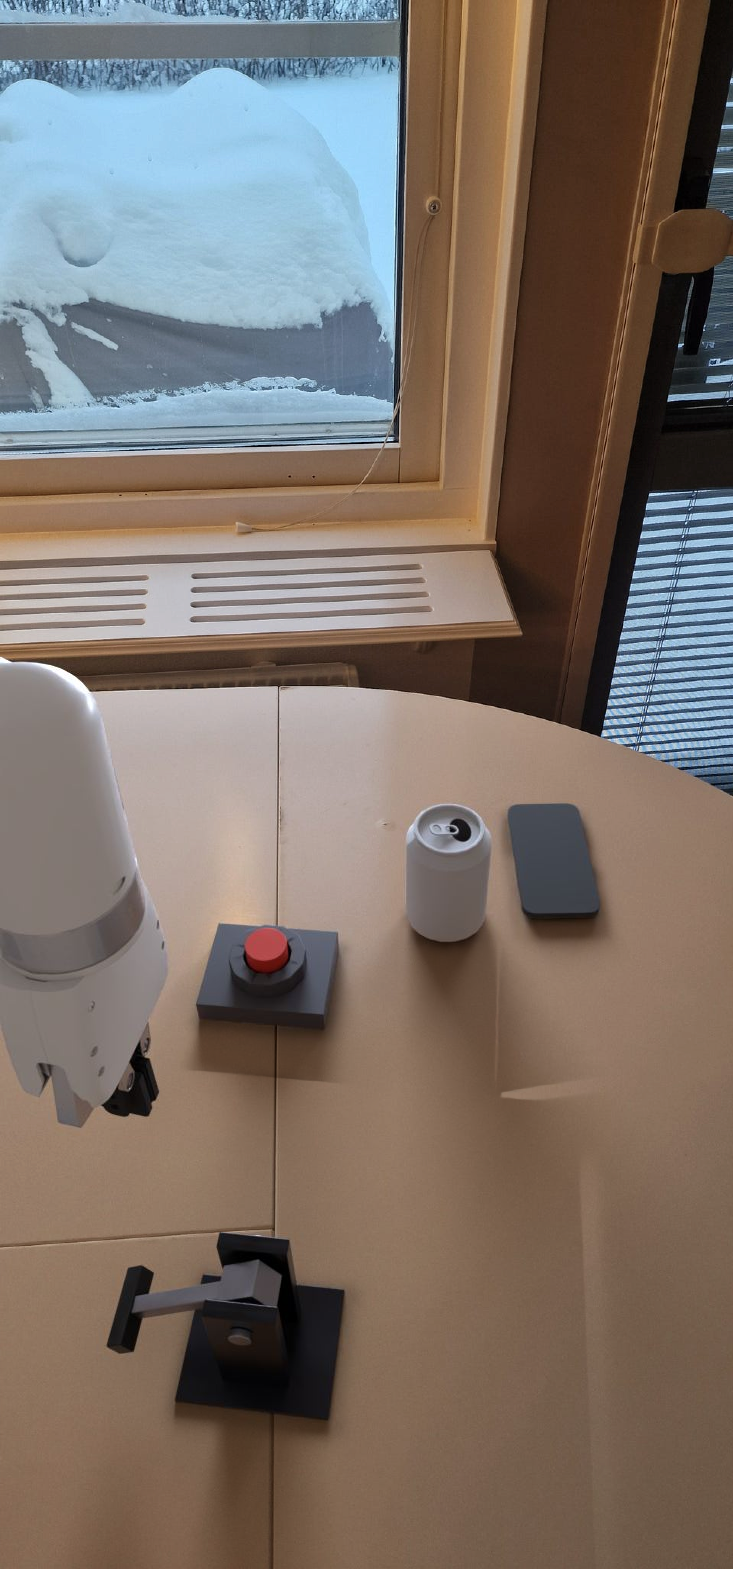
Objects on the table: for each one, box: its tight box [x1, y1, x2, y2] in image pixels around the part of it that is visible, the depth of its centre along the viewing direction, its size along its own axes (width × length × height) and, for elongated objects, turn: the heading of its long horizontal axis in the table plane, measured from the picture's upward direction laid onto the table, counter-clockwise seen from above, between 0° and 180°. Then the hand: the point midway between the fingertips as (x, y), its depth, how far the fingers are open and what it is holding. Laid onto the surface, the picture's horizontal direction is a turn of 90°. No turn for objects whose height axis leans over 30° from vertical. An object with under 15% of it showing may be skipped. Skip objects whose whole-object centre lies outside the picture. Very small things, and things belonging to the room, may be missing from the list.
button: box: [245, 928, 288, 973], centre depth 89 cm, size 4×4×2 cm
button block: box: [195, 922, 340, 1030], centre depth 91 cm, size 11×9×4 cm
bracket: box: [174, 1231, 346, 1421], centre depth 66 cm, size 10×8×12 cm
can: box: [405, 803, 493, 943], centre depth 93 cm, size 8×8×12 cm
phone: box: [507, 802, 601, 919], centre depth 102 cm, size 7×1×15 cm
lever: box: [105, 1260, 282, 1355], centre depth 65 cm, size 12×5×2 cm
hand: (130, 1100), depth 63 cm, fingers closed
